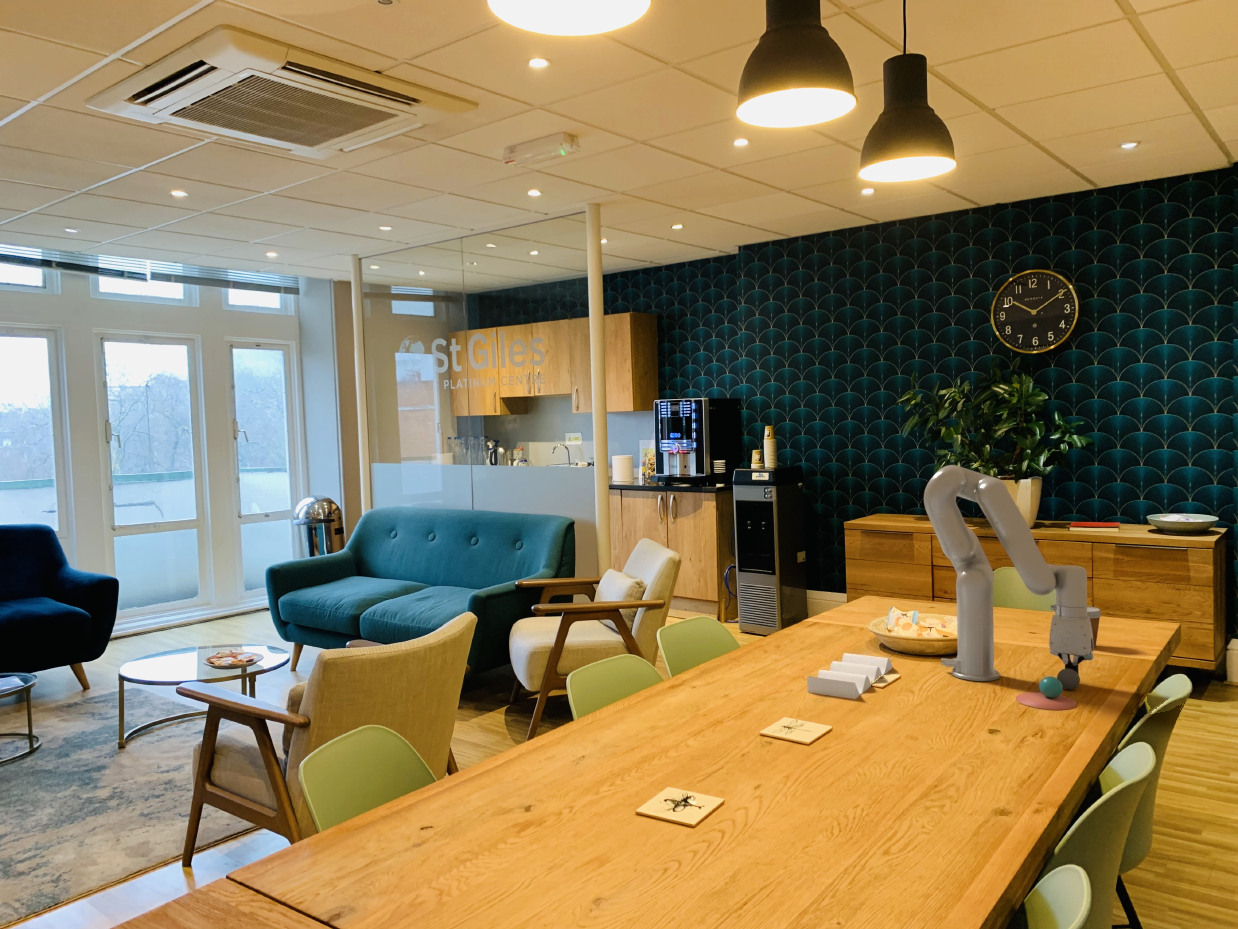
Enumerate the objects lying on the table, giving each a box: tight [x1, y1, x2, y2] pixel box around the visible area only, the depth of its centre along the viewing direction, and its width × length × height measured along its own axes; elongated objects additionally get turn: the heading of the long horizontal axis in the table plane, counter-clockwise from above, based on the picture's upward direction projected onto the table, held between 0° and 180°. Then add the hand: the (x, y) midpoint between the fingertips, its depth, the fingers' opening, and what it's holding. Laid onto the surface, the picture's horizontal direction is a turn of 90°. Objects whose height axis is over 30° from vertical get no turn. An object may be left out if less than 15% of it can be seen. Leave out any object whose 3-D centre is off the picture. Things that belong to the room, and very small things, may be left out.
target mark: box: [1015, 691, 1077, 711], centre depth 228 cm, size 14×14×1 cm
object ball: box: [1038, 676, 1064, 698], centre depth 230 cm, size 6×6×6 cm
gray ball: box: [1056, 668, 1081, 691], centre depth 237 cm, size 6×6×6 cm
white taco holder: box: [806, 652, 894, 700], centre depth 252 cm, size 13×35×5 cm, turn 147°
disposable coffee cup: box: [1087, 606, 1102, 649], centre depth 280 cm, size 10×10×12 cm
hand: (1071, 678), depth 242 cm, fingers closed
